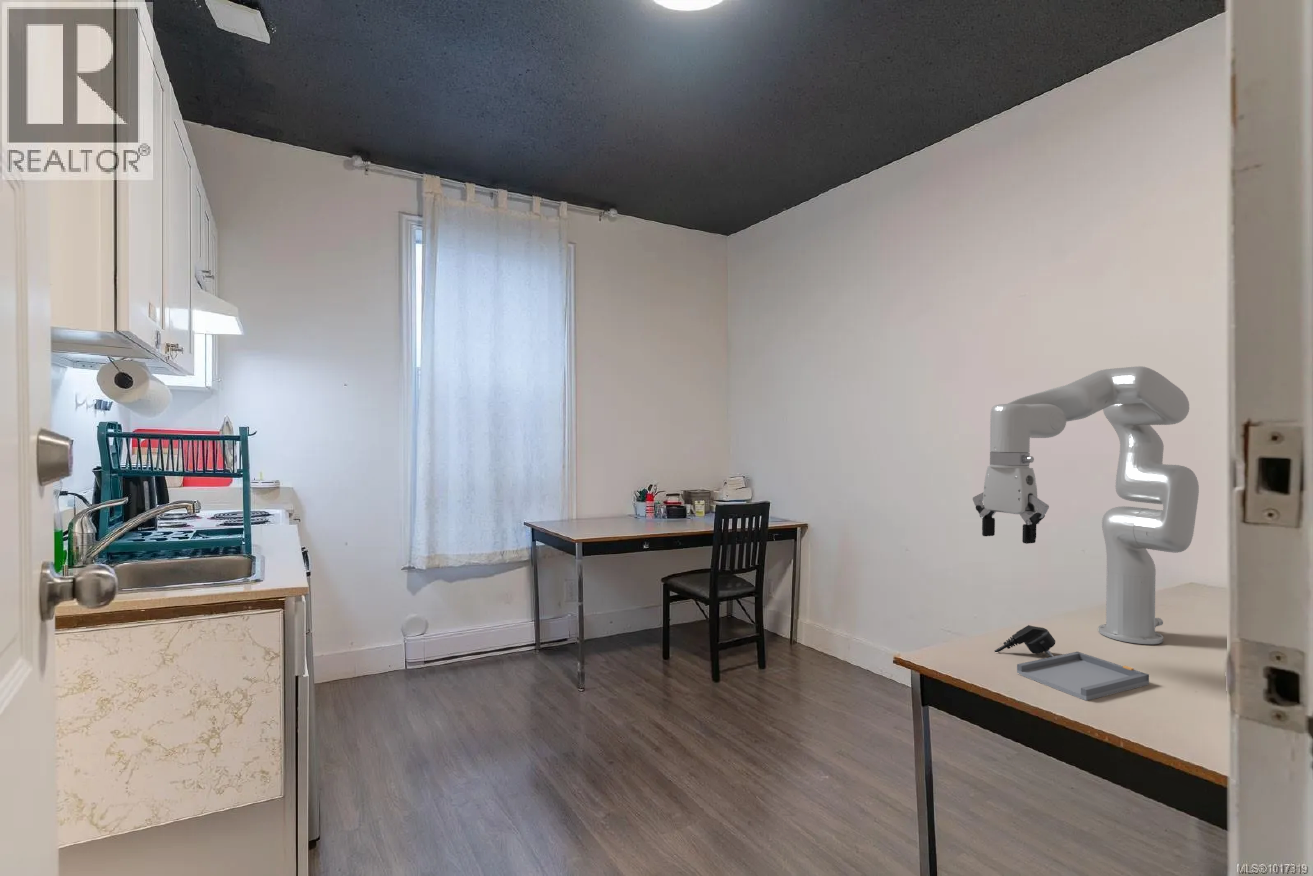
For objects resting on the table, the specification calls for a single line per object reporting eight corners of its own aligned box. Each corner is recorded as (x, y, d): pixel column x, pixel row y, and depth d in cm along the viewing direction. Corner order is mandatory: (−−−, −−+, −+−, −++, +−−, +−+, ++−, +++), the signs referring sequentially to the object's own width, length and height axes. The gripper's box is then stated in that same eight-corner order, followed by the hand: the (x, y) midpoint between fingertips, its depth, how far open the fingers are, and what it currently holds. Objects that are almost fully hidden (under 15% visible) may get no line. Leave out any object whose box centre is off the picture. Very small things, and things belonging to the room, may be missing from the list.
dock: (1077, 660, 137) (1077, 650, 137) (1148, 684, 124) (1148, 673, 124) (1016, 673, 129) (1017, 662, 129) (1086, 700, 116) (1086, 688, 116)
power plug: (988, 645, 144) (1035, 617, 143) (1009, 672, 144) (1056, 645, 142) (997, 653, 139) (1045, 624, 137) (1018, 682, 138) (1067, 654, 136)
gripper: (1060, 462, 129) (1058, 545, 129) (986, 459, 145) (985, 532, 145) (1035, 462, 126) (1033, 547, 127) (963, 459, 142) (962, 534, 142)
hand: (1008, 539), depth 136 cm, fingers open, 9 cm apart
